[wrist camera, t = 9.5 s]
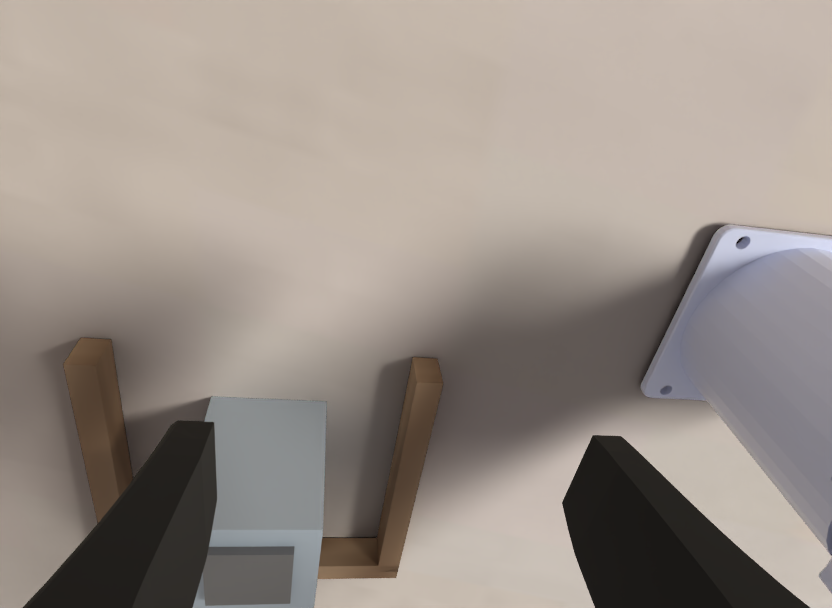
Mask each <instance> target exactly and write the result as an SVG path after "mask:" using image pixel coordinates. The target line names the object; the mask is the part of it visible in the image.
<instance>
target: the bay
mask: <svg viewBox="0 0 832 608" xmlns="http://www.w3.org/2000/svg"><path fill="white" fill-rule="evenodd" d="M63 366H64V371H65V375H66V380H67V385H68V389H69V394H70V398H71V403H72V408H73V412H74V417H75V421H76V426H77V430H78V435H79V440H80V444H81V449H82V453H83V458H84V462H85V467H86V472H87V476H88V481H89V485H90V490H91V495H92V499H93V504H94V508H95V513H96V517H97V522H98V523H99V522H100V520H101V519H102V518H103V517H104V515H105V514H106V513H107V512H108V510H109V509H110V508H111V507H112V506H113V504H114V503H115V502H116V501H117V499H118V498H119V497H120V496H121V494H122V493H123V492H124V491H125V489H126V488H127V487H128V485H129V484H130V483H131V481H132V480H133V476H132V470H131V463H130V457H129V450H128V444H127V438H126V431H125V425H124V418H123V412H122V406H121V399H120V393H119V386H118V380H117V374H116V367H115V361H114V354H113V348H112V341H111V339H94V338H80V340H79V341H78V343H77V344H76V346H75V347H74V349H73V350H72V352H71V353H70V355H69V356H68V358H67V359H66V361H65V362H64V364H63ZM442 387H443V380H442V376H441V372H440V367H439V363H438V359H433V358H416V357H413V359H412V364H411V369H410V374H409V379H408V384H407V389H406V394H405V399H404V404H403V409H402V414H401V419H400V424H399V429H398V434H397V439H396V444H395V449H394V454H393V459H392V464H391V469H390V474H389V479H388V484H387V489H386V494H385V499H384V504H383V509H382V514H381V519H380V524H379V529H378V534H377V538H322V543H321V552H320V560H319V569H318V577H317V579H343V578H396V576H397V572H398V568H399V564H400V559H401V555H402V551H403V547H404V543H405V539H406V535H407V531H408V527H409V523H410V518H411V514H412V510H413V506H414V502H415V498H416V494H417V490H418V486H419V481H420V477H421V473H422V469H423V465H424V461H425V457H426V453H427V449H428V445H429V440H430V436H431V432H432V428H433V424H434V420H435V416H436V412H437V408H438V403H439V399H440V395H441V391H442Z"/></svg>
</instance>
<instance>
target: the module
mask: <svg viewBox="0 0 832 608" xmlns="http://www.w3.org/2000/svg"><path fill="white" fill-rule="evenodd" d="M326 412H327V401H305V400H282V399H259V398H236V397H213V396H211V400H210V403H209V407H208V410H207V414H206V417H205V421H204V422H214V428H215V454H216V479H217V503H216V509H215V515H214V521H213V527H212V532H211V538H210V543H209V549H208V554H207V558H206V562H205V566H204V569H203V573H202V576H201V580H200V583H199V587H198V590H197V594H196V597H195V601H194V604H193V608H314V603H315V594H316V586H317V577H318V569H319V560H320V552H321V543H322V535H323V515H324V481H325V446H326Z"/></svg>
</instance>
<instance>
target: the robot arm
mask: <svg viewBox="0 0 832 608" xmlns="http://www.w3.org/2000/svg"><path fill="white" fill-rule="evenodd" d="M741 237H743V239H742V241H741V242H739V243H738V244H736V243H737V241H738V240H739V239H740V238H741ZM664 386H666V387H664ZM663 387H664V388H663ZM641 390H642V392H643V393H644V395H645V396H647V397H650V398H666V399H687V400H707V402H708V403H709V404H710V405H711V407H712V408H713V409H714V410H715V412H716V413H717V414H718V415H719V416H720V418H721V419H722V420H723V421H724V423H725V424H726V425H727V426H728V428H729V429H730V430H731V431H732V433H733V434H734V435H735V436H736V438H737V439H738V440H739V441H740V443H741V444H742V445H743V446H744V448H745V449H746V450H747V451H748V453H749V454H750V455H751V456H752V458H753V459H754V460H755V461H756V463H757V464H758V465H759V466H760V468H761V469H762V470H763V471H764V473H765V474H766V475H767V476H768V478H769V479H770V480H771V481H772V483H773V484H774V485H775V486H776V487H777V489H778V490H779V491H780V492H781V494H782V495H783V496H784V497H785V499H786V500H787V501H788V502H789V504H790V505H791V506H792V507H793V509H794V510H795V511H796V512H797V514H798V515H799V516H800V517H801V519H802V520H803V521H804V522H805V524H806V525H807V526H808V527H809V529H810V530H811V531H812V532H813V534H814V535H815V536H816V537H817V539H818V540H819V541H820V542H821V544H822V545H823V546H824V547H825V549H826V550H827V551H828V552H829V554H830V555H831V556H832V236H826V235H817V234H809V233H800V232H791V231H783V230H774V229H765V228H756V227H748V226H739V225H725V226H723V227H721V228H720V229H718V230H717V231H716V233H715V234H714V235H713V237H712V239H711V241H710V243H709V245H708V248H707V250H706V252H705V254H704V256H703V258H702V260H701V262H700V264H699V266H698V268H697V270H696V272H695V274H694V276H693V278H692V280H691V282H690V284H689V287H688V289H687V291H686V293H685V295H684V297H683V299H682V301H681V303H680V305H679V307H678V309H677V311H676V313H675V315H674V317H673V319H672V321H671V324H670V326H669V328H668V330H667V332H666V334H665V336H664V338H663V340H662V342H661V344H660V346H659V348H658V350H657V352H656V354H655V356H654V358H653V361H652V363H651V365H650V367H649V369H648V371H647V373H646V375H645V377H644V379H643V381H642V383H641ZM216 503H217V479H216V454H215V428H214V422H200V421H177V422H175V423H174V424H172V425H171V426H170V428H169V429H168V431H167V433H166V434H165V436H164V437H163V439H162V440H161V442H160V443H159V444H158V446H157V447H156V449H155V450H154V452H153V453H152V454H151V456H150V457H149V459H148V460H147V461H146V463H145V464H144V466H143V467H142V468H141V470H140V471H139V472H138V474H137V475H136V476H135V478H134V479H133V480H132V481H131V483H130V484H129V485H128V487H127V488H126V489H125V491H124V492H123V493H122V494H121V496H120V497H119V498H118V499H117V501H116V502H115V503H114V504H113V506H112V507H111V508H110V509H109V510H108V512H107V513H106V514H105V515H104V517H103V518H102V519H101V520H100V522H99V523H98V524H97V525H96V527H95V528H94V529H93V530H92V531H91V533H90V534H89V535H88V536H87V537H86V538H85V539H84V541H83V542H82V543H81V544H80V545H79V546H78V547H77V549H76V550H75V551H74V552H73V553H72V554H71V555H70V556H69V558H68V559H67V560H66V561H65V562H64V563H63V564H62V565H61V567H60V568H59V569H58V570H57V571H56V572H55V573H54V574H53V576H52V577H51V578H50V579H49V580H48V581H47V582H46V583H45V584H44V586H43V587H42V588H41V589H40V590H39V591H38V592H37V593H36V594H35V595H34V596H33V597H32V598H31V599H30V600H29V601H28V603H27V604H26V605H25V606H24V607H23V608H193V604H194V601H195V597H196V594H197V590H198V587H199V583H200V580H201V576H202V573H203V569H204V566H205V562H206V558H207V554H208V549H209V543H210V538H211V532H212V527H213V521H214V515H215V509H216ZM562 504H563V508H564V513H565V517H566V521H567V526H568V530H569V534H570V538H571V541H572V545H573V549H574V553H575V556H576V558H577V561H578V564H579V567H580V569H581V572H582V574H583V577H584V580H585V582H586V585H587V588H588V590H589V593H590V596H591V598H592V601H593V603H594V606H595V608H810V607H809V606H807V605H806V604H805V603H803V602H802V601H801V600H800V599H798V598H797V597H796V596H795V595H793V594H792V593H791V592H790V591H789V590H787V589H786V588H785V587H784V586H783V585H781V584H780V583H779V582H778V581H777V580H775V579H774V578H773V577H772V576H771V575H770V574H768V573H767V572H766V571H765V570H764V569H763V568H762V567H760V566H759V565H758V564H757V563H756V562H755V561H754V560H752V559H751V558H750V557H749V556H748V555H747V554H746V553H744V552H743V551H742V550H741V549H740V548H739V547H738V546H737V545H735V544H734V543H733V542H732V541H731V540H730V539H729V538H728V537H727V536H726V535H724V534H723V533H722V532H721V531H720V530H719V529H718V528H717V527H716V526H715V525H714V524H713V523H712V522H710V521H709V520H708V519H707V518H706V517H705V516H704V515H703V514H702V513H701V512H700V511H699V510H698V509H697V508H696V507H695V506H694V505H693V504H692V503H690V502H689V501H688V500H687V499H686V498H685V497H684V496H683V495H682V494H681V493H680V492H679V491H678V490H677V489H676V488H675V487H674V486H673V485H672V484H671V483H670V482H669V481H668V480H667V479H666V478H665V477H664V476H663V475H662V474H661V473H660V472H659V471H657V470H656V469H655V468H654V467H653V466H652V465H651V464H650V463H649V462H648V461H647V460H646V459H645V458H644V457H643V456H642V455H641V454H640V453H639V452H638V451H637V450H636V449H635V448H633V447H632V446H631V445H630V444H629V443H628V442H627V441H626V440H625V439H624V438H622V437H621V436H599V435H593V436H592V438H591V441H590V443H589V445H588V447H587V449H586V452H585V454H584V456H583V458H582V460H581V463H580V465H579V467H578V469H577V471H576V473H575V476H574V478H573V480H572V482H571V484H570V487H569V489H568V491H567V493H566V495H565V498H564V500H563V502H562ZM819 577H820V579H821V580H822V581H823V583H824V584H825V585H826V587H827V588H828V589H829V591H830V592H831V593H832V557H831V560H830V561H829V563H828V564H827V566H826V567H825V568H824V569H823V570H822V571H821V572H820V573H819Z"/></svg>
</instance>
